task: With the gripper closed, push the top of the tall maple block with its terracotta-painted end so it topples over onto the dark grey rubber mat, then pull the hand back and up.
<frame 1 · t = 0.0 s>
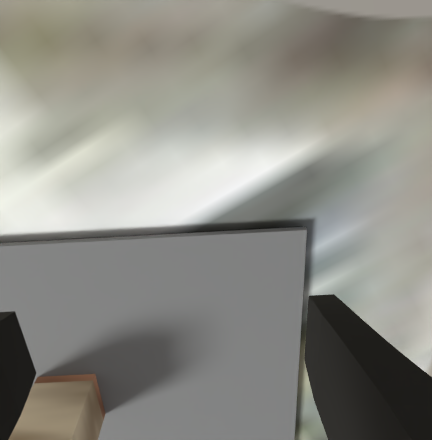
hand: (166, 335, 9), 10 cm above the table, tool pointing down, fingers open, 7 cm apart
maple block: (72, 395, 23), resting on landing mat
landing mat: (156, 375, 23), on the table
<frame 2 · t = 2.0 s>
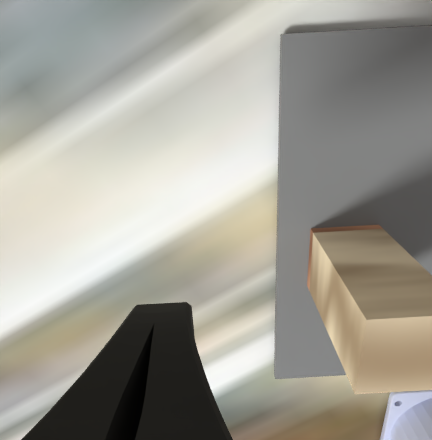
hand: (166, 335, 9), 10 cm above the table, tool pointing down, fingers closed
maple block: (341, 256, 19), resting on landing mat
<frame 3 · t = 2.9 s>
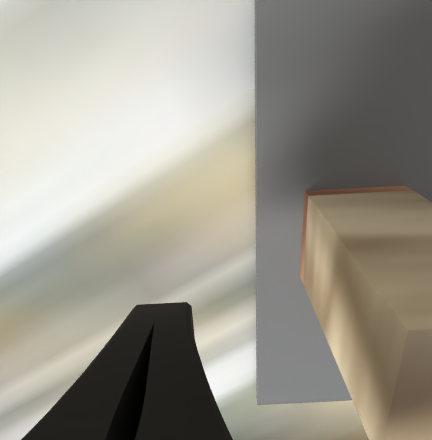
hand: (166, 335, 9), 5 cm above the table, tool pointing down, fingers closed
maple block: (349, 233, 13), resting on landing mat
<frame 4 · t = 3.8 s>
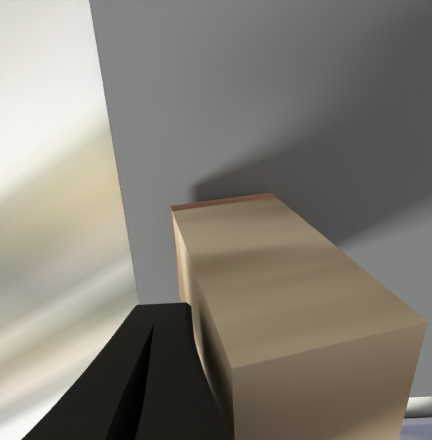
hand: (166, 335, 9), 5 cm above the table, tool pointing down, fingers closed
maple block: (223, 244, 13), point 1 cm above the table, tilted 13°, touching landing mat
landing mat: (367, 203, 13), on the table
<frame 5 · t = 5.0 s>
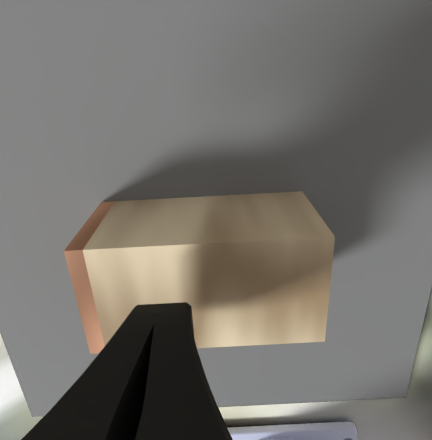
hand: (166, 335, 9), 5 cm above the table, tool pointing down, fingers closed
maple block: (96, 272, 12), point 2 cm above the table, tilted 90°, touching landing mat
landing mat: (205, 212, 13), on the table
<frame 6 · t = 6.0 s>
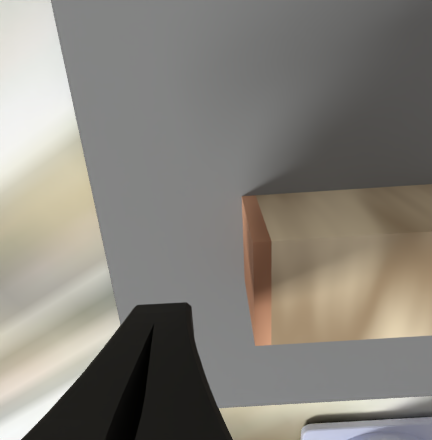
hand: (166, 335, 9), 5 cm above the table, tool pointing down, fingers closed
maple block: (247, 265, 12), point 2 cm above the table, tilted 90°, touching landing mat
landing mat: (338, 206, 13), on the table
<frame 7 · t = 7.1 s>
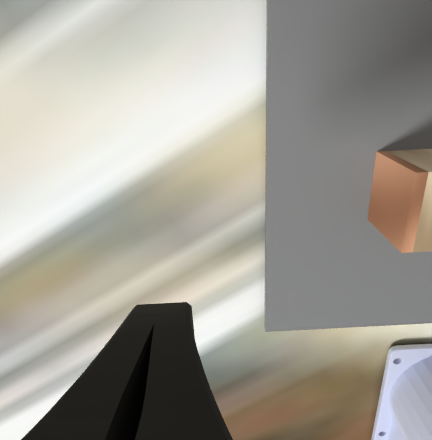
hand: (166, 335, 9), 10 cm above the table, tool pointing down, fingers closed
maple block: (388, 199, 16), point 2 cm above the table, tilted 90°, touching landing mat
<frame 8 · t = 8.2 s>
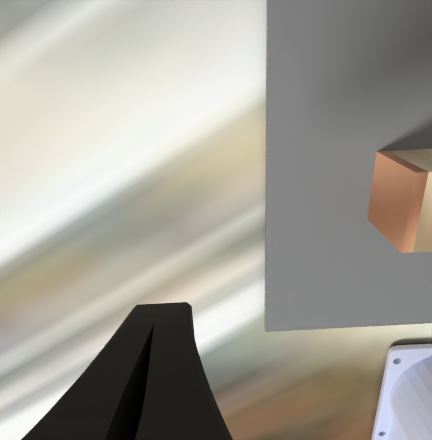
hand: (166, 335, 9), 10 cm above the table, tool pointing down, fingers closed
maple block: (388, 199, 16), point 2 cm above the table, tilted 90°, touching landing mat
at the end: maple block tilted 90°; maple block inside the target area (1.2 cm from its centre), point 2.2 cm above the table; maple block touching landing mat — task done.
